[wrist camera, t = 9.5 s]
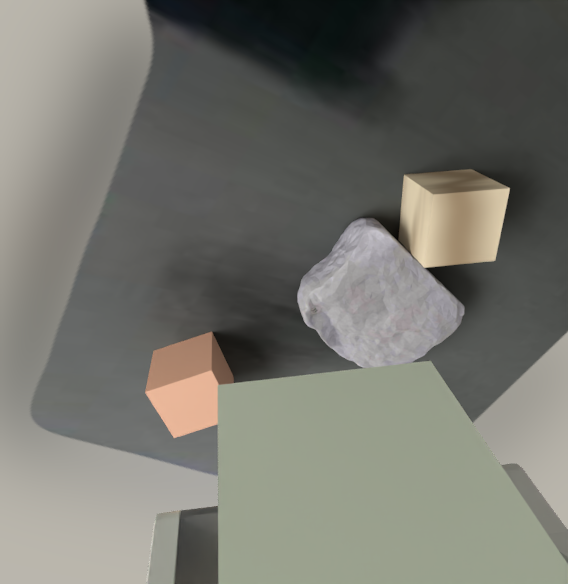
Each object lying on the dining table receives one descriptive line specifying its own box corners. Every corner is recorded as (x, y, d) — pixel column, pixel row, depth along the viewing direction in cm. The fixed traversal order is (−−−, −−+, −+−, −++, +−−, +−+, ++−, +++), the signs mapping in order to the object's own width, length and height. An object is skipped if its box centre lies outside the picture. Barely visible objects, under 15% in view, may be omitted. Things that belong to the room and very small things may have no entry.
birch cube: (470, 168, 32) (510, 188, 28) (460, 233, 35) (495, 260, 30) (403, 174, 32) (433, 194, 27) (397, 239, 34) (424, 267, 30)
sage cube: (430, 360, 11) (579, 581, 6) (408, 497, 13) (505, 724, 9) (217, 385, 10) (219, 642, 6) (236, 522, 12) (247, 776, 8)
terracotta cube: (212, 331, 36) (211, 370, 32) (233, 376, 38) (235, 418, 34) (153, 350, 36) (145, 392, 32) (178, 393, 39) (174, 438, 34)
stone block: (372, 352, 42) (464, 289, 37) (379, 392, 38) (483, 327, 33) (277, 280, 37) (368, 198, 33) (274, 316, 33) (377, 230, 29)
